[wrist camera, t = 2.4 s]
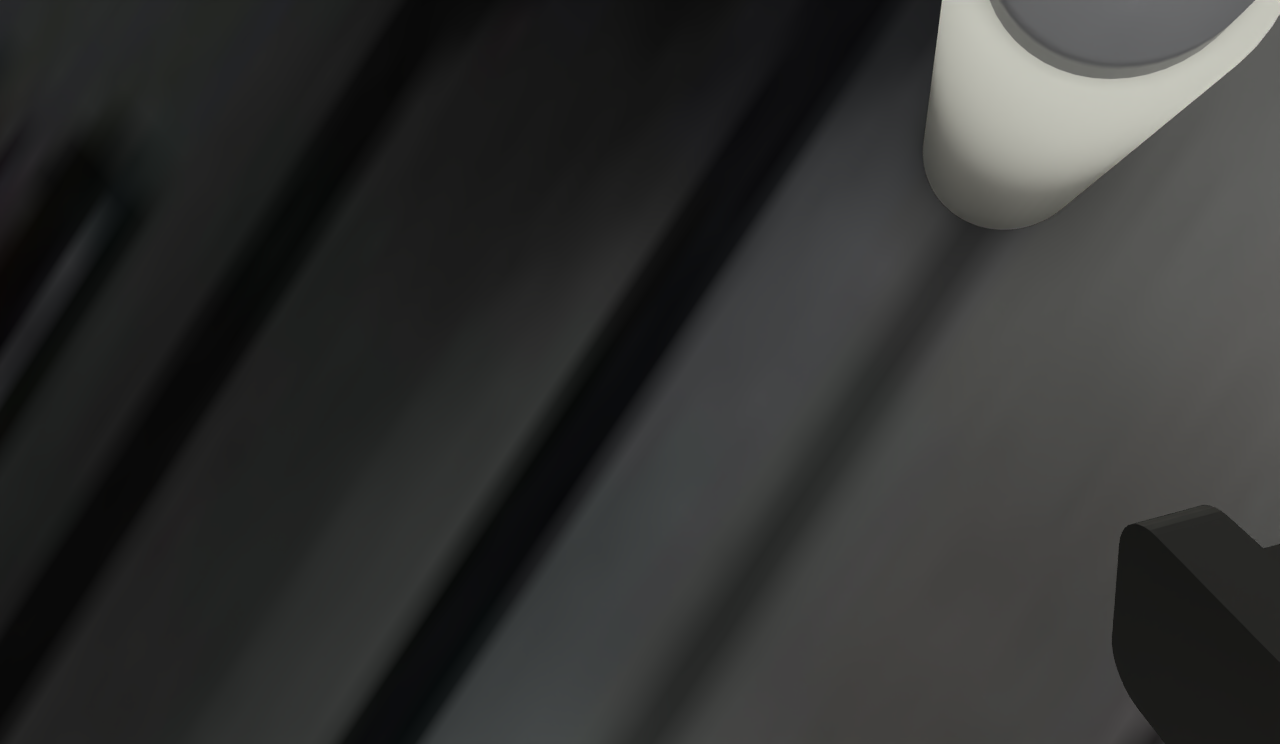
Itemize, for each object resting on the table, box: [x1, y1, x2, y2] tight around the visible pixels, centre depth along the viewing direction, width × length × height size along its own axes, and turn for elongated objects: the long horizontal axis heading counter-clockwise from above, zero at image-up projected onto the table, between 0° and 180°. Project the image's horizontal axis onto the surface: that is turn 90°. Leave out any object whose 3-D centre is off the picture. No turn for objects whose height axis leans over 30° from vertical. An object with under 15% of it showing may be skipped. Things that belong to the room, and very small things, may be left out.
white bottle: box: [923, 0, 1280, 230], centre depth 20 cm, size 4×4×15 cm
